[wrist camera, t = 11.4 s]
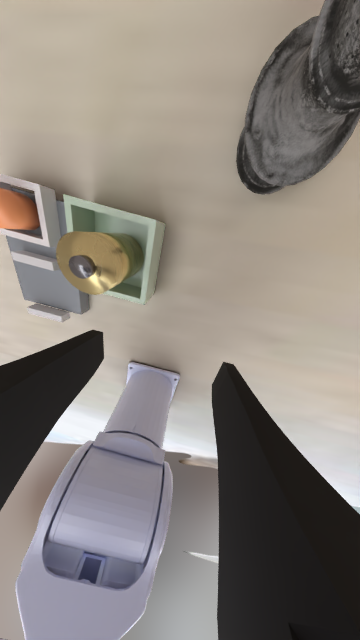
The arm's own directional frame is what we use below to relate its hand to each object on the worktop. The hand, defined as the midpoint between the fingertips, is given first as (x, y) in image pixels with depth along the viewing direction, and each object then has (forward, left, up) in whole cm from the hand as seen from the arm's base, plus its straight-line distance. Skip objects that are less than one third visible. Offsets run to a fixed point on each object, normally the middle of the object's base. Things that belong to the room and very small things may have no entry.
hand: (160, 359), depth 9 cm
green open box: (+4, +6, -10) cm, 12 cm away
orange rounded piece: (+5, +15, -7) cm, 17 cm away
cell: (+3, +6, -9) cm, 12 cm away
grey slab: (+1, +14, -10) cm, 18 cm away
